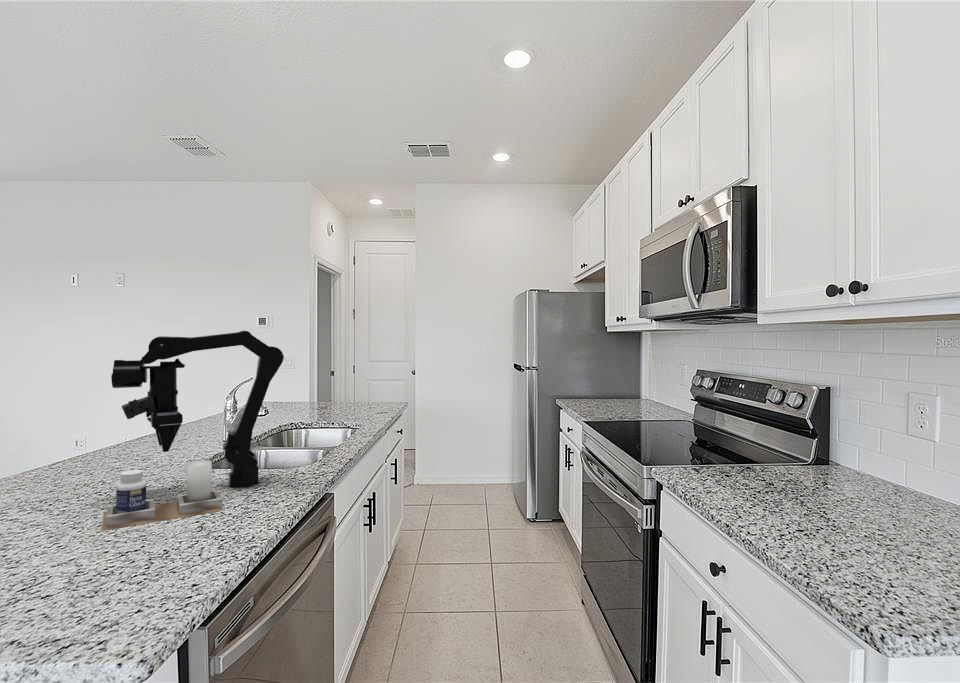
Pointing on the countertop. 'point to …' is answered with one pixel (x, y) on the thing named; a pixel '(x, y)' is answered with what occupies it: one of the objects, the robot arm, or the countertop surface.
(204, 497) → the pin
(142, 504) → the pill bottle
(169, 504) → the board
